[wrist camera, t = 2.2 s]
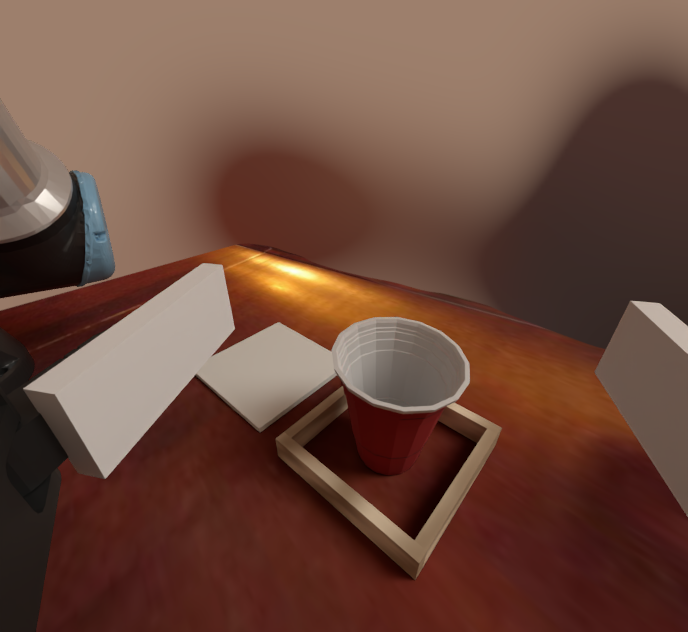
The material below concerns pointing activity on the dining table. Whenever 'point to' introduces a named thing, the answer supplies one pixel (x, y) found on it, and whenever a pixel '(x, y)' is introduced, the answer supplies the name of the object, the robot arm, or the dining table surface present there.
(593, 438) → the dining table surface
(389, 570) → the dining table surface
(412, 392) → the plastic cup
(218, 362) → the white tile
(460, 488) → the birch collar
